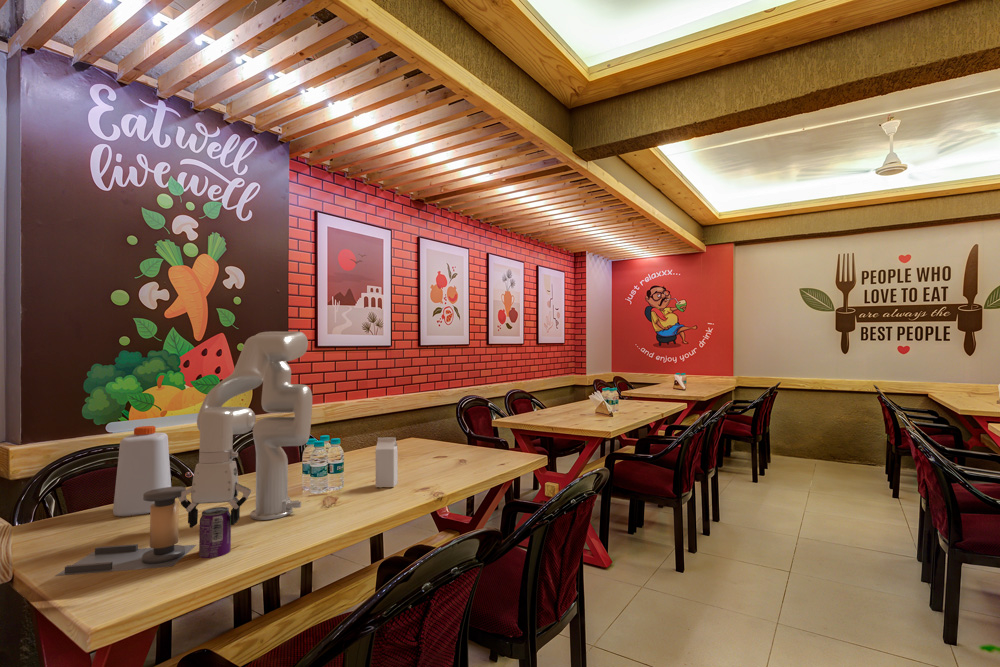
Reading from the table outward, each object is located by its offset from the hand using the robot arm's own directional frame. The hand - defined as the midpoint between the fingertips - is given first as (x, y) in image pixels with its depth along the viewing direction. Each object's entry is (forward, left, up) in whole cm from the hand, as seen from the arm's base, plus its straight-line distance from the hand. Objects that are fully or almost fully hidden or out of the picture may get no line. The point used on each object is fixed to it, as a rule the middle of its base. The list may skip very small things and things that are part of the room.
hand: (213, 524), depth 128 cm
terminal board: (+19, -1, -9) cm, 21 cm away
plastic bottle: (+40, -50, -9) cm, 65 cm away
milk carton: (-41, -63, -9) cm, 75 cm away
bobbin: (+12, -1, -7) cm, 14 cm away
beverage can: (0, -1, -9) cm, 9 cm away
